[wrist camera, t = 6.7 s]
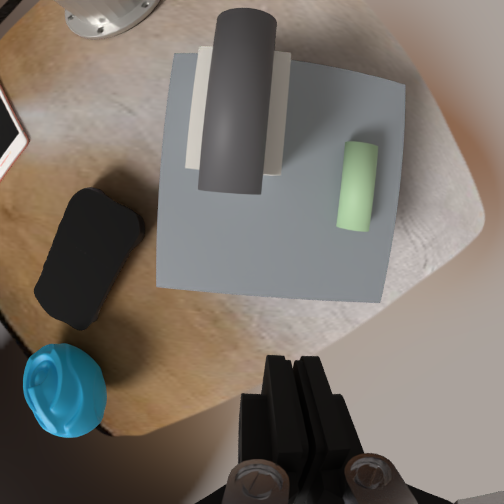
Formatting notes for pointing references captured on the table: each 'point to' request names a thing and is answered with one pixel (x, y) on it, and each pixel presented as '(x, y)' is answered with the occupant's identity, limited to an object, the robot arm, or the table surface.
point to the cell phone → (9, 136)
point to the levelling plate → (288, 201)
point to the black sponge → (87, 257)
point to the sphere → (65, 390)
